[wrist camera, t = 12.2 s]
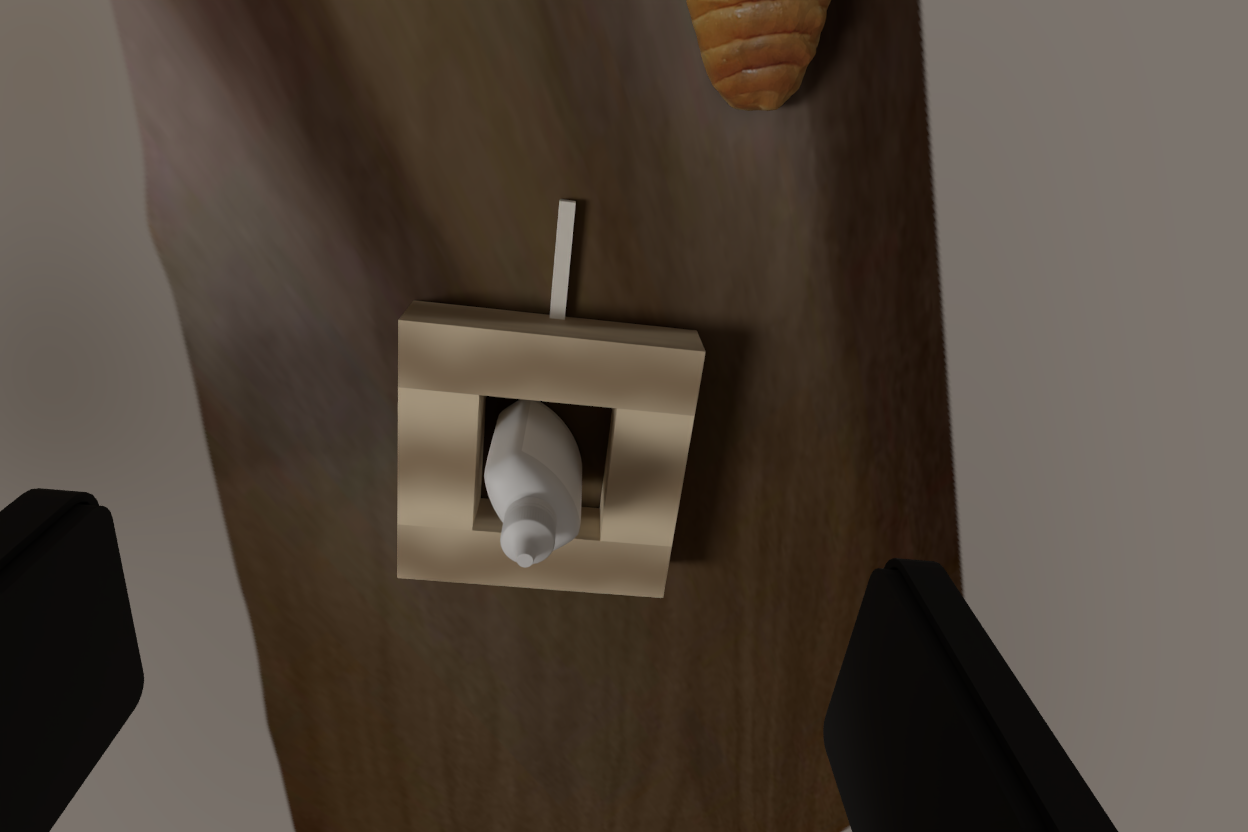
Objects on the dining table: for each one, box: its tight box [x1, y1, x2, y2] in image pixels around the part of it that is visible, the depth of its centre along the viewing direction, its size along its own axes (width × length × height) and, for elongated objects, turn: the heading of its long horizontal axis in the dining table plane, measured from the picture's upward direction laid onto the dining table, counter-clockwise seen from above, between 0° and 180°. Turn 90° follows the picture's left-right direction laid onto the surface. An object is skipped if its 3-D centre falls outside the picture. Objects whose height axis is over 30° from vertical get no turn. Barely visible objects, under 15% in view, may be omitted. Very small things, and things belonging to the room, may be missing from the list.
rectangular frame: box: [397, 300, 706, 598], centre depth 42 cm, size 15×15×4 cm
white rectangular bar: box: [549, 199, 576, 320], centre depth 39 cm, size 6×1×1 cm, turn 173°
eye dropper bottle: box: [484, 399, 582, 568], centre depth 38 cm, size 4×6×12 cm
